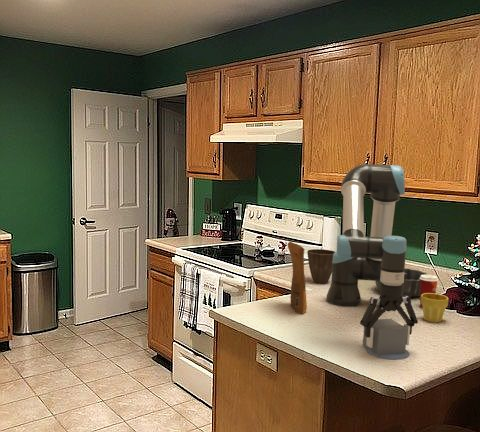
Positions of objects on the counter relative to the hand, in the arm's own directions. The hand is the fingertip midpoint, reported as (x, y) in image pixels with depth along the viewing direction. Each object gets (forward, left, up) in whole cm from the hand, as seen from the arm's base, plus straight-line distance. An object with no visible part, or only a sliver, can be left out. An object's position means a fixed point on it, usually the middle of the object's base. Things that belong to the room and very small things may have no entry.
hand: (387, 345), depth 175 cm
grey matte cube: (-2, 0, -2) cm, 3 cm away
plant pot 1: (-93, +16, -2) cm, 94 cm away
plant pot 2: (-28, +37, -2) cm, 46 cm away
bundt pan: (-68, +47, -3) cm, 83 cm away
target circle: (0, 0, -2) cm, 2 cm away
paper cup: (-44, +45, -2) cm, 63 cm away
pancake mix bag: (-51, -13, -2) cm, 53 cm away
